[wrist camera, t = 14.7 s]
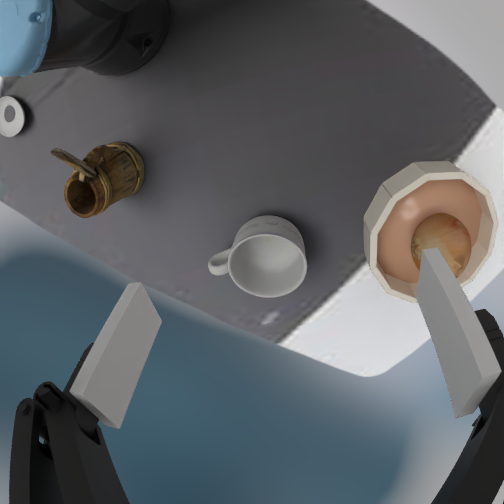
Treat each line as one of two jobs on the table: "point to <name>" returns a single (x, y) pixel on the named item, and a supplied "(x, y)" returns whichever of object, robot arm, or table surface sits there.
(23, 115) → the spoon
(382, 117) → the table surface
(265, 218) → the teacup
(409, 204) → the bowl
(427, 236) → the onion
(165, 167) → the table surface
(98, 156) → the wooden mug
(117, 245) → the table surface
